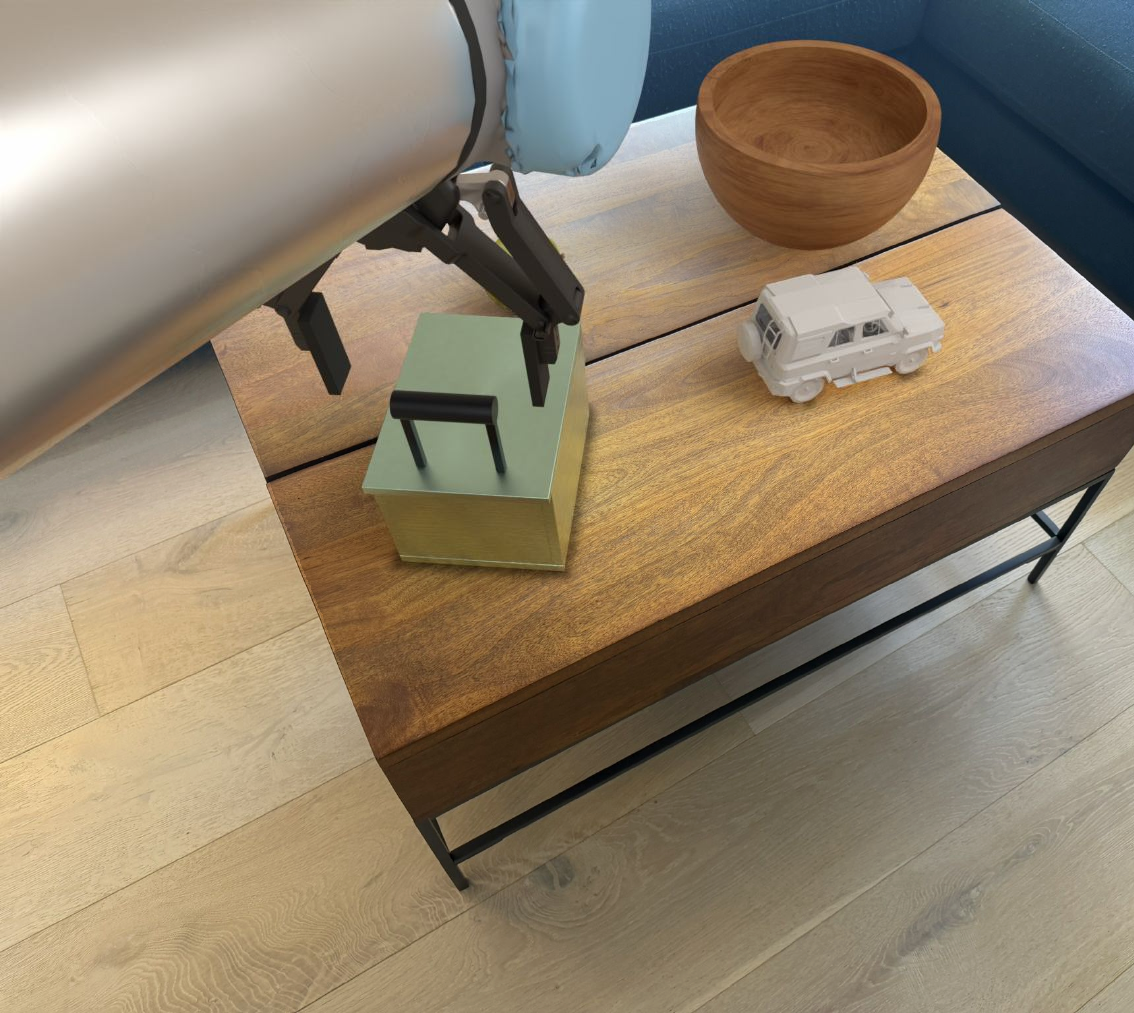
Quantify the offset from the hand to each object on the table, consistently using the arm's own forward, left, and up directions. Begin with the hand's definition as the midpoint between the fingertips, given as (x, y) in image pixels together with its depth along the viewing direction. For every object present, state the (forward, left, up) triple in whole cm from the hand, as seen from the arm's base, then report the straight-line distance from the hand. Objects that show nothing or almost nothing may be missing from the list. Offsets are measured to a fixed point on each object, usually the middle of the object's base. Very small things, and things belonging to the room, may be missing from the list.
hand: (440, 386), depth 60 cm
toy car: (+38, -11, -20) cm, 44 cm away
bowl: (+54, +4, -20) cm, 58 cm away
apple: (+25, +19, -20) cm, 37 cm away
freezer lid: (+5, +4, -9) cm, 11 cm away
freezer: (+6, +4, -20) cm, 21 cm away
